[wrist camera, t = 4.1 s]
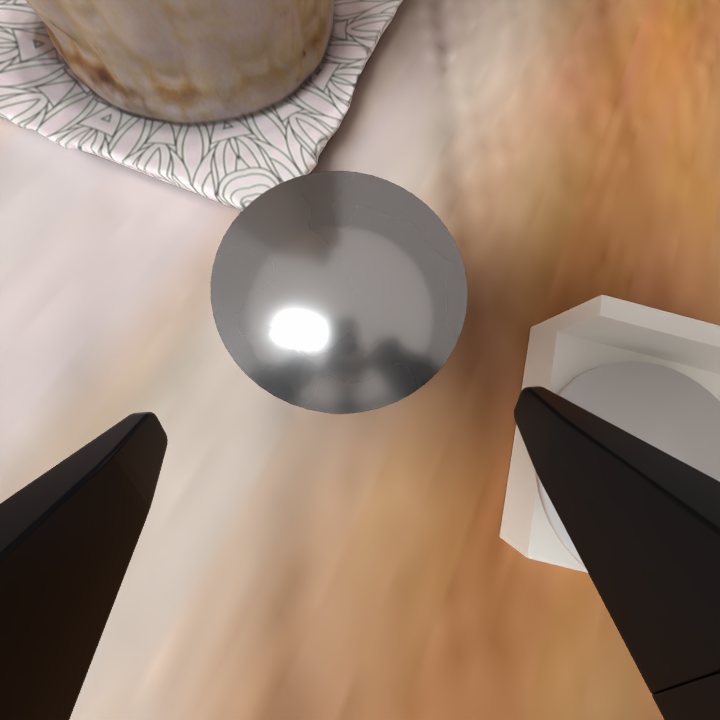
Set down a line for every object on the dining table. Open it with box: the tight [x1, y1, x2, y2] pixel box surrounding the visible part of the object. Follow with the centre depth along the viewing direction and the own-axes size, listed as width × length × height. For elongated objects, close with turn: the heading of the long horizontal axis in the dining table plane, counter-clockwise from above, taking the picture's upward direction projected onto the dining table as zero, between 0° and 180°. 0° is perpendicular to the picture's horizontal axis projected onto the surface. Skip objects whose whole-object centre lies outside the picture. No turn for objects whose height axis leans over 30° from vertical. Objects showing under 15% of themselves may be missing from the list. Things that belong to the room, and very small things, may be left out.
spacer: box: [211, 171, 468, 414], centre depth 12 cm, size 5×5×12 cm
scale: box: [500, 295, 720, 573], centre depth 15 cm, size 13×10×5 cm
